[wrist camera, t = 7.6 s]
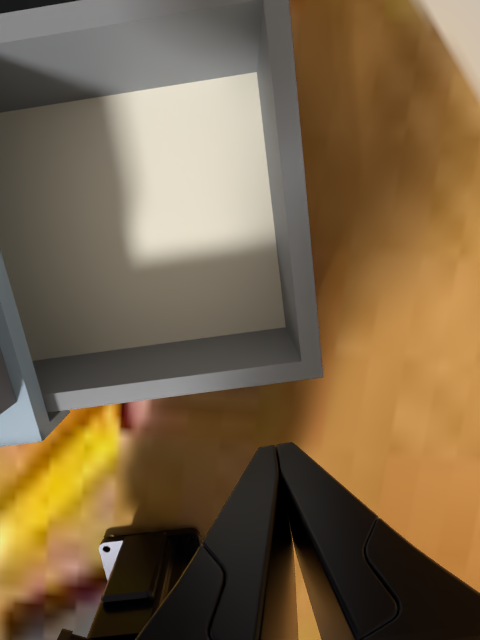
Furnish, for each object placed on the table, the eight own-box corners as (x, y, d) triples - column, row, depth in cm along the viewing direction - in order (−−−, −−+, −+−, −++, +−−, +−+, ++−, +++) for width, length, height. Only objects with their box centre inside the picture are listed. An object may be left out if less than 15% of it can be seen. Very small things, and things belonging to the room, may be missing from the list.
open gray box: (299, 336, 20) (323, 377, 15) (-74, 385, 21) (-193, 442, 15) (270, 55, 17) (285, -35, 11) (-169, 126, 18) (-365, 74, 12)
